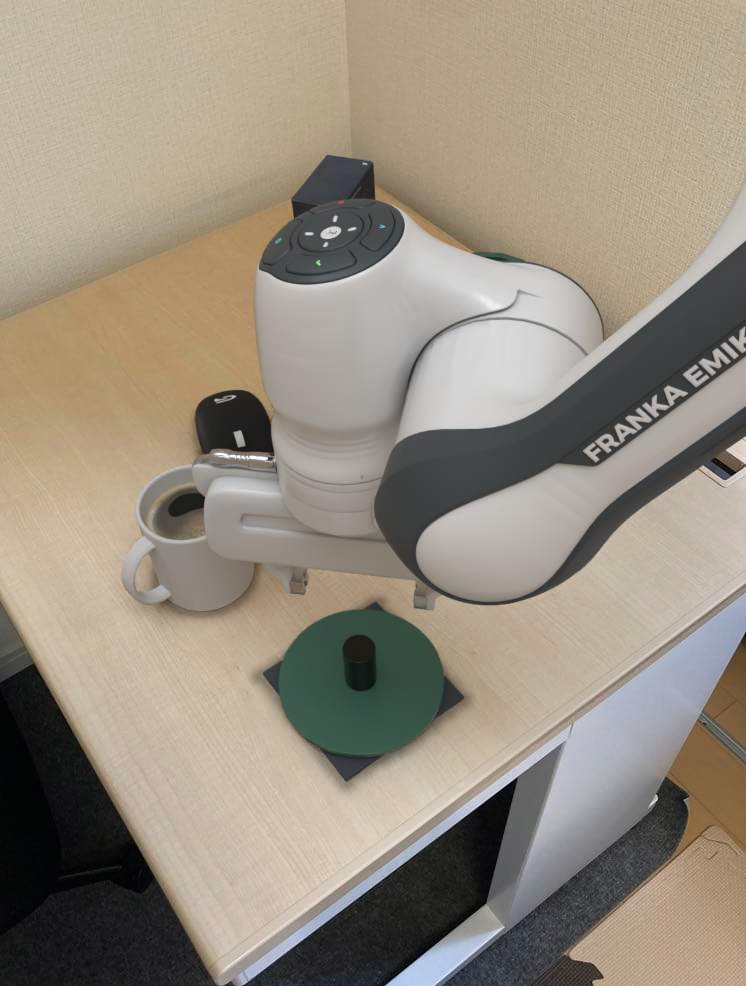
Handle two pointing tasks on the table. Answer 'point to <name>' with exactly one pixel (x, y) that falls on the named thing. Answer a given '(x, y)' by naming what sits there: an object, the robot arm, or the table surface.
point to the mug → (181, 548)
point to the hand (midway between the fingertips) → (360, 594)
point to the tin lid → (361, 683)
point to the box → (335, 183)
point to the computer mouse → (233, 423)
